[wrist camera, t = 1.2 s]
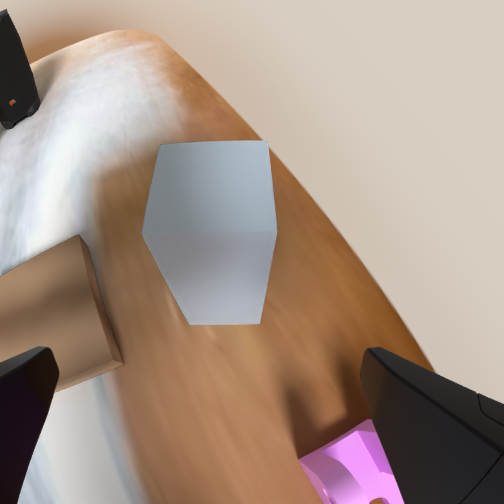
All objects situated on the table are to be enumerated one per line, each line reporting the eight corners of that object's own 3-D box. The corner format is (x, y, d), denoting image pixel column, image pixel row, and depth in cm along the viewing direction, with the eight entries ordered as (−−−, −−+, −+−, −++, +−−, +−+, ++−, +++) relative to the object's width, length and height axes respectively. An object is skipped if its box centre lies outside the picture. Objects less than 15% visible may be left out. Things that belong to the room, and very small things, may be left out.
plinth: (124, 364, 20) (113, 359, 18) (19, 405, 17) (4, 403, 15) (87, 246, 24) (78, 234, 22) (-1, 293, 21) (-13, 284, 20)
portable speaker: (37, 119, 35) (-4, 15, 17) (-6, 139, 33) (-51, 48, 16) (49, 92, 39) (19, 1, 21) (9, 110, 37) (-26, 27, 20)
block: (259, 323, 22) (277, 230, 11) (189, 324, 21) (141, 234, 11) (256, 261, 24) (267, 140, 14) (192, 262, 24) (160, 144, 13)
